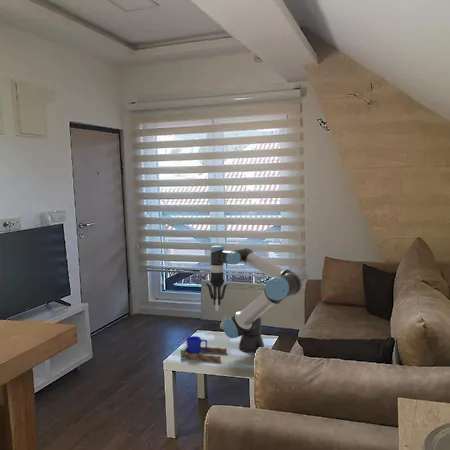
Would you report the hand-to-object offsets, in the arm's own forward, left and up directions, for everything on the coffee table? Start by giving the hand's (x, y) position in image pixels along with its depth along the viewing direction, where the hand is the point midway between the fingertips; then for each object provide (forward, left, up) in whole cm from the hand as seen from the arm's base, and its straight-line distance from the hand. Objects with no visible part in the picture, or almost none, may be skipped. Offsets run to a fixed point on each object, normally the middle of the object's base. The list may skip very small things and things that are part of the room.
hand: (217, 310), depth 284 cm
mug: (+8, +15, -24) cm, 29 cm away
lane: (+4, +14, -23) cm, 28 cm away
